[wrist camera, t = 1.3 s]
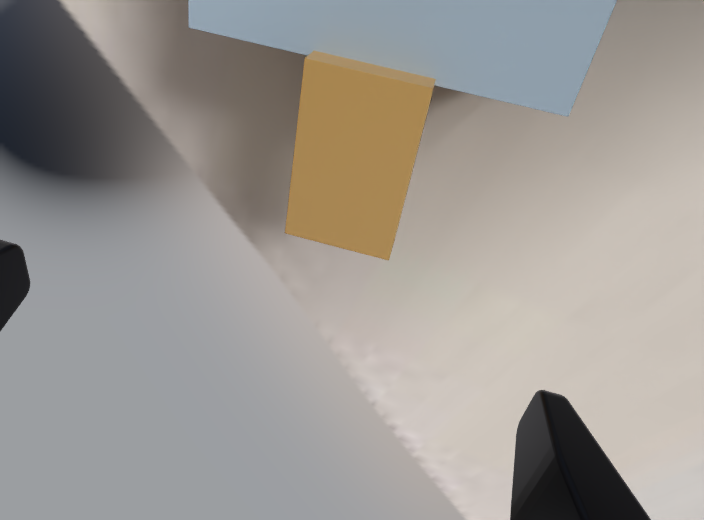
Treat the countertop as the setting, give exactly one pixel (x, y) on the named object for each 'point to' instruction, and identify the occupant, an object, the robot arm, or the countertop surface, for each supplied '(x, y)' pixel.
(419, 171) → the countertop surface
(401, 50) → the lid
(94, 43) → the countertop surface
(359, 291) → the countertop surface
